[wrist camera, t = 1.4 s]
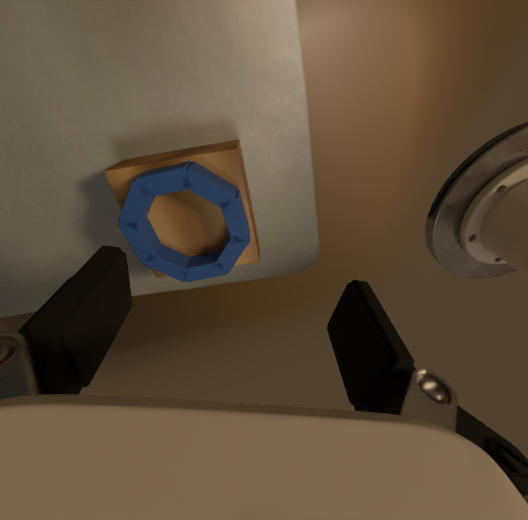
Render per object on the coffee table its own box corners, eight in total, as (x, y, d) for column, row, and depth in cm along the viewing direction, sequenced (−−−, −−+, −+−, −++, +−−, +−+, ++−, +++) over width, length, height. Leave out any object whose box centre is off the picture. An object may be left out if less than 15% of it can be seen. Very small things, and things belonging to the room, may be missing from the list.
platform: (239, 139, 23) (237, 147, 20) (259, 242, 29) (260, 262, 26) (123, 159, 24) (102, 171, 20) (166, 256, 30) (156, 277, 26)
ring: (268, 205, 22) (269, 214, 21) (215, 282, 27) (213, 294, 25) (155, 137, 19) (146, 142, 17) (117, 238, 24) (107, 249, 22)
